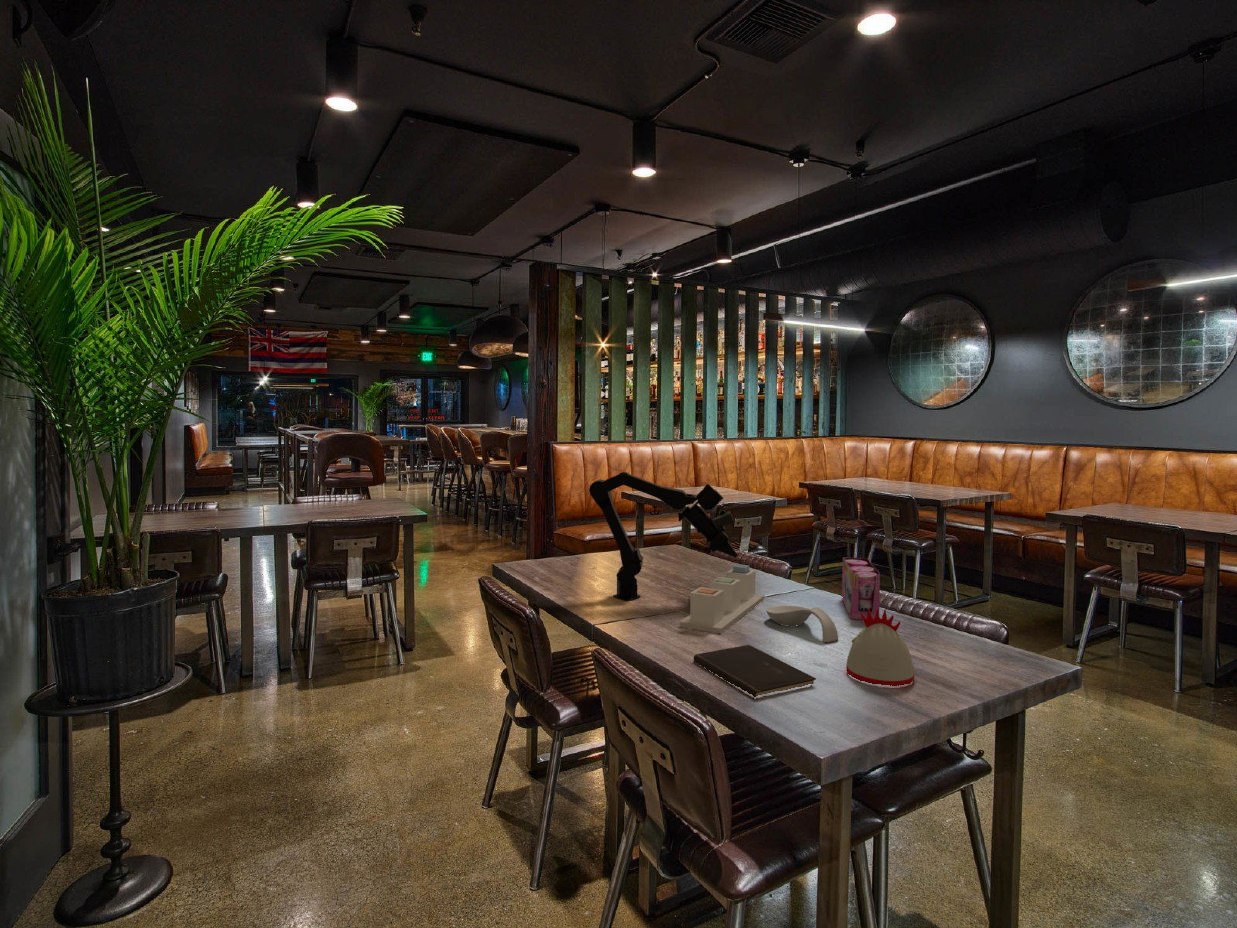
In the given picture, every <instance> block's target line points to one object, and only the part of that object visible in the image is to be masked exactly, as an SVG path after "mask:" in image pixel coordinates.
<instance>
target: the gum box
mask: <svg viewBox="0 0 1237 928" xmlns="http://www.w3.org/2000/svg"><path fill="white" fill-rule="evenodd" d="M841 568H842V570H841V571H842V575H841V579H842V580H841V583H842V584H841V600H842V599H843V600H842V603H843V602H844V603H843V604H845V605H844V607H845V606H846V607H845V609H846V612H847V614H848V613H849V614H848V616H849V618H850V620H857V619H862V617H861V613H862V614H863V616H864V617H865V618H867V615H868V608H869V610H870V613H871V616H872V617H873V618H874V617H875V615H876V611H877V609H878V610H879V611H880V598H881V597H880V594H881V591H880V590H881V589H880V586H881V585H880V584H881V582H880V581H881V574H880V572H879V570H878V569H877V568H876V567H875V566H874V565H873V563H872V562H871V560H870V559H869V558H866V557H848V556H847V557H842V567H841ZM842 597H843V598H842Z"/></svg>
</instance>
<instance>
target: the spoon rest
mask: <svg viewBox="0 0 1237 928" xmlns="http://www.w3.org/2000/svg"><path fill="white" fill-rule="evenodd" d="M766 614H767V615H768V617H769V618H770V619H771V620H773V621H774V622H775V623H777V624H778V623H779V625H780V624H783V625H788V626H787V627H789V626H795V627H797V626H796V625H799V626H801V624H803V623H805V622H806V621H807V620H808V619H809V618H810V616H811V615H814V616H815V617H816V618H817V619H818V621H819V623H820V626H821V628H822V643H823V644H825V642H827V643H831V642H830V641H834V642H837V641H839V634H838V630H837V628H836V625H835V622H834V621H833V620H832V618H831V617H830V616H829V614H827V612H825V610H824V609H822V608H820V607H812V608H808V607H803V606H798V605H778V606H771V607H769V608H767V609H766ZM783 625H782V626H783ZM836 640H837V641H836Z"/></svg>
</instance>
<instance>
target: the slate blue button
mask: <svg viewBox="0 0 1237 928" xmlns="http://www.w3.org/2000/svg"><path fill="white" fill-rule="evenodd" d="M732 569H733V572H734V573H743V574H747V573H749V570H750V564H749V565H746V564H741V563H737V564H735V565H733V566H732Z"/></svg>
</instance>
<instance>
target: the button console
mask: <svg viewBox="0 0 1237 928" xmlns="http://www.w3.org/2000/svg"><path fill="white" fill-rule="evenodd" d="M725 575H726V577H725V578H726V579H734V582H732V583H731V584H729V583H722V582H716V581H717V580H718V579H720V578H724V577H722V576H717V577H716V578H714V579H712V580H711V581H709V587H702V586H700V587H697V588H696V589H694V590H693V591H691V592H690V596H689V597H690V599H689V600H690V607H689V608H690V609H689V610H690V612H689V613H690V614H689V615H687V616H686V617H684V618H683V619H681V620H680V621H679V628H683V629H687V630H688V629H689V630H694V629H698V630H697V631H700V630H703V631H702V632H706V631H708V633H711V632H712V633H713V634H717V633H722V634H723V633H725V632H726V631H727V630H728V629H730V628H731V627H732V626H734V625H735V624H736V623H737V622H738V621H740V620H741V619H742V618H744V617H745V616H746V615H748V613H747V612H749V611H750V610H751V609H752V610H754V609H755V608H756V607H757V606H759V605H760V604H761V603H763V602H764V601H765V595H762V594H756V570H754V569H749V573H747V574H743V573H734V572H733V568H732V569H730V570H728V571H726V574H725ZM703 588H706V589H713V590H717V592H716V593H715V594H713V595H711V594H704V593H698V591H699V590H701V589H703ZM763 600H764V601H763ZM762 601H763V602H762ZM760 602H761V603H760ZM759 603H760V604H759ZM758 604H759V605H758ZM756 605H757V606H756ZM755 606H756V607H755ZM754 607H755V608H754ZM753 608H754V609H753ZM752 610H751V611H752ZM751 611H750V612H751ZM750 612H749V613H750ZM743 616H744V617H743ZM740 618H741V619H740ZM739 619H740V620H739ZM735 622H736V623H735ZM734 623H735V624H734ZM730 626H731V627H730ZM729 627H730V628H729ZM726 629H727V630H726ZM725 630H726V631H725ZM724 631H725V632H724ZM712 633H711V634H712Z"/></svg>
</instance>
